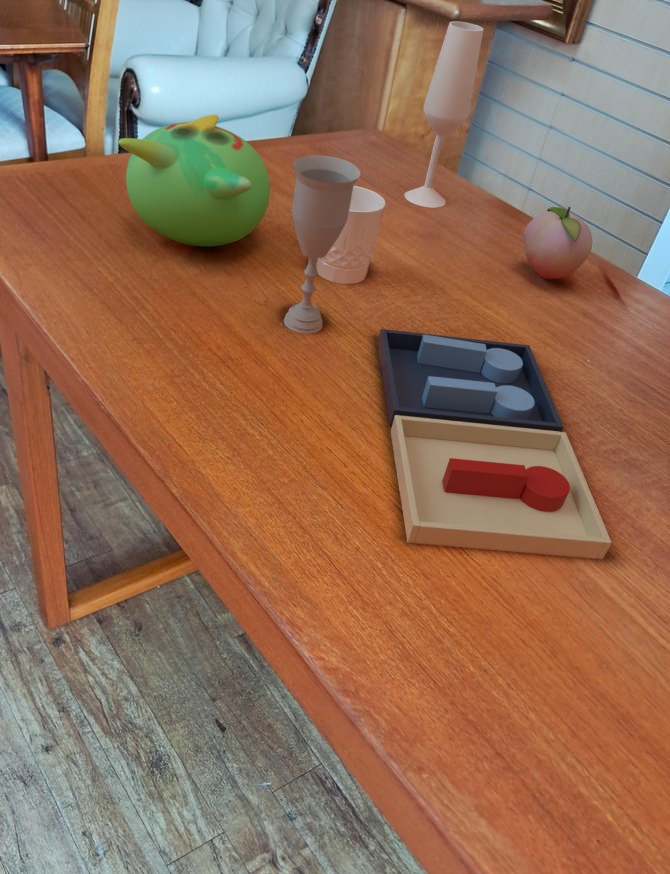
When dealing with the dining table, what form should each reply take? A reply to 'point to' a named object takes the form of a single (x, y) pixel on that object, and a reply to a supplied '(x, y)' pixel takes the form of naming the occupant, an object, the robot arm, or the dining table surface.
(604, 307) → the dining table surface
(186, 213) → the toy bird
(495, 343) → the blue tray
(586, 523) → the cream tray
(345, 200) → the chalice
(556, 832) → the dining table surface
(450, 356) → the blue spoon
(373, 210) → the white cup
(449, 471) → the red spoon
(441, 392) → the blue spoon
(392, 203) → the dining table surface
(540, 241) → the decorative fruit
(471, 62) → the champagne flute
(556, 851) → the dining table surface
